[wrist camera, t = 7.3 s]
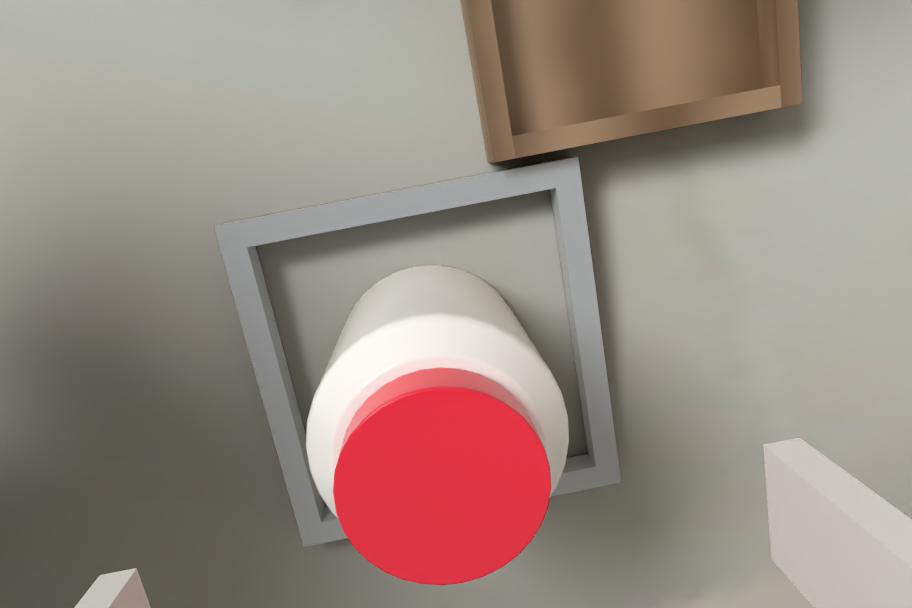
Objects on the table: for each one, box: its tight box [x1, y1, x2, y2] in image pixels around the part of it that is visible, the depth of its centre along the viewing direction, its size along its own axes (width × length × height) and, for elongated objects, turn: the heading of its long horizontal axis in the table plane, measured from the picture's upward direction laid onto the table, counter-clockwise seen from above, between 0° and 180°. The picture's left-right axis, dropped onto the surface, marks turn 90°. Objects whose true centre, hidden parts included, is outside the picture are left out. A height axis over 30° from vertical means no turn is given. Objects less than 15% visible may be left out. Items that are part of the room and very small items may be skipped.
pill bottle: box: [306, 265, 569, 585], centre depth 21 cm, size 8×8×11 cm
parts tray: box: [214, 157, 621, 547], centre depth 25 cm, size 14×14×1 cm
